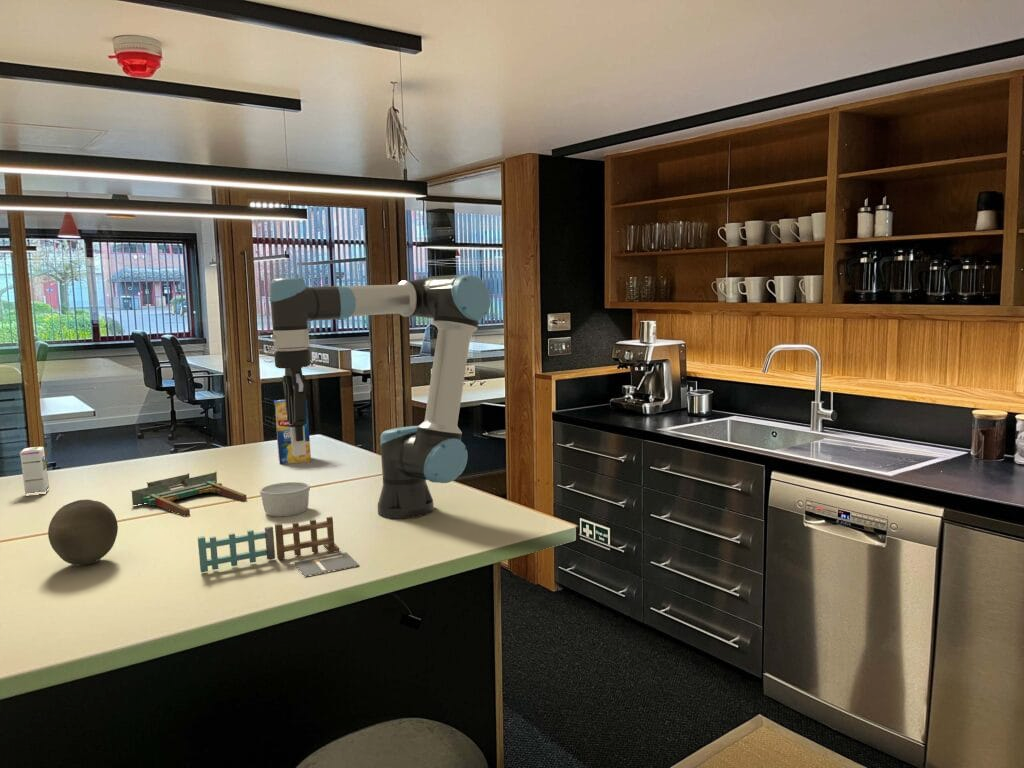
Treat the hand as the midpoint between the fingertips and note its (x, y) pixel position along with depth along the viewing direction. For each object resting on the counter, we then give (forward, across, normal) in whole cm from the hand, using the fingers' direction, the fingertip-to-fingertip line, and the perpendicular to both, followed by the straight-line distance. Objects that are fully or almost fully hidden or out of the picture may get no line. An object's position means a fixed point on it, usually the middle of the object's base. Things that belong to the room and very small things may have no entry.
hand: (299, 454), depth 176 cm
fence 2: (+24, -4, +1) cm, 25 cm away
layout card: (+24, +6, +3) cm, 25 cm away
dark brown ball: (+25, -25, -44) cm, 56 cm away
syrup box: (+25, -110, -58) cm, 127 cm away
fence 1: (+24, -4, -14) cm, 28 cm away
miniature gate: (+25, -72, -17) cm, 78 cm away
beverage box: (+25, -108, +22) cm, 113 cm away
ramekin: (+25, -43, +5) cm, 50 cm away
